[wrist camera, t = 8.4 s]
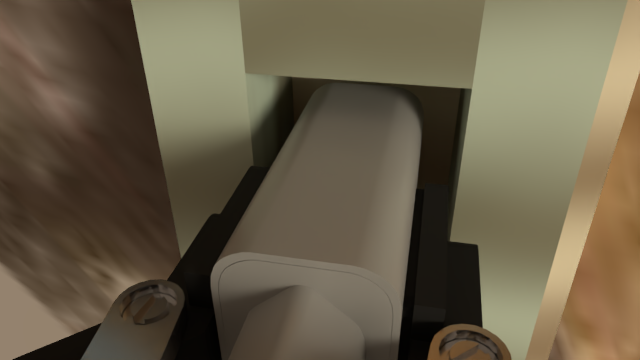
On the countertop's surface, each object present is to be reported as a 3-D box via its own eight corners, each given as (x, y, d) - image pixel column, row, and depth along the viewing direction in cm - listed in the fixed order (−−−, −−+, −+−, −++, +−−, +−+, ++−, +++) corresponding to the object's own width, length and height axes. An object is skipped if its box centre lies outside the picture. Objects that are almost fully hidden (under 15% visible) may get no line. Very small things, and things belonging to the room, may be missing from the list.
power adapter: (426, 88, 14) (354, 724, 4) (410, 254, 17) (343, 867, 7) (308, 80, 14) (-28, 616, 4) (311, 241, 17) (113, 788, 7)
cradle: (125, -204, 14) (-9, -222, 10) (714, -223, 12) (856, -256, 8) (208, 295, 24) (157, 391, 20) (542, 344, 21) (563, 466, 17)
